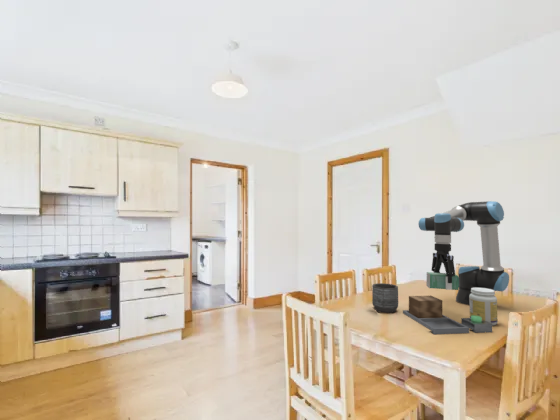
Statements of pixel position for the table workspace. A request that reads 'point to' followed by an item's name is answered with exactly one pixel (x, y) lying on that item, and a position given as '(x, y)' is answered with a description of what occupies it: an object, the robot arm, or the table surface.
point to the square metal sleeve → (477, 325)
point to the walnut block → (425, 307)
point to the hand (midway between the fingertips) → (442, 287)
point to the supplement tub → (483, 304)
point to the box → (441, 281)
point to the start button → (476, 319)
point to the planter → (385, 297)
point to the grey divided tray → (440, 324)
